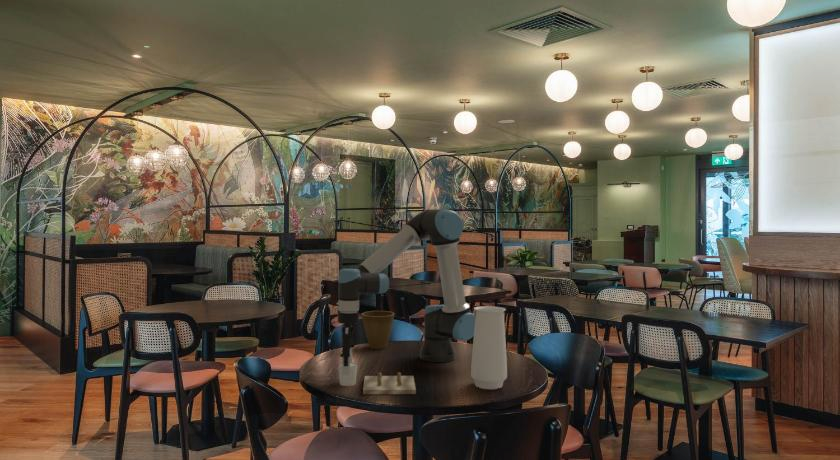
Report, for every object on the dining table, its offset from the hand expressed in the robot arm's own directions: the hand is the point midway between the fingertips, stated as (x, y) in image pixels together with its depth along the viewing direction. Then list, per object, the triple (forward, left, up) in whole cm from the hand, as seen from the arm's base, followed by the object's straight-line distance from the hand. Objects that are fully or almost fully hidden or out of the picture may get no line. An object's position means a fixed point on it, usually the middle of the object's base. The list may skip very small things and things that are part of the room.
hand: (347, 370), depth 215 cm
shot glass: (0, 0, -5) cm, 5 cm away
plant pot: (-10, -60, -5) cm, 61 cm away
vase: (-51, +3, -5) cm, 52 cm away
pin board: (-15, +4, -5) cm, 17 cm away
